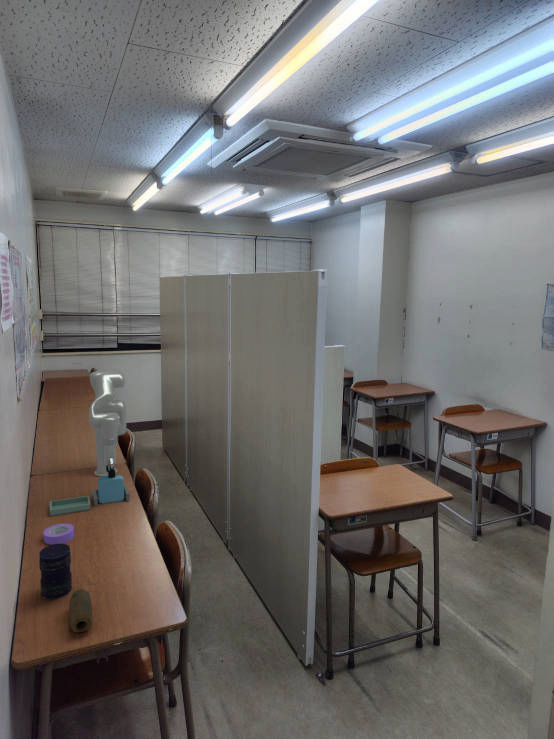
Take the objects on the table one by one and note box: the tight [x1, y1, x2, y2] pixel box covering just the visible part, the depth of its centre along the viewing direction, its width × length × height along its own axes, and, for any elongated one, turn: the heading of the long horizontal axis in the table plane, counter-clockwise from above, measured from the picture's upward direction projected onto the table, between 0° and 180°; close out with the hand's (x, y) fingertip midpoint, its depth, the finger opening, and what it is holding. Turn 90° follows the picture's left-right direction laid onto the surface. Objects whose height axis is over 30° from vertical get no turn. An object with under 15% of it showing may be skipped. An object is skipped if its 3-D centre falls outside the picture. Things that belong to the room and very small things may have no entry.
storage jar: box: [38, 543, 73, 600], centre depth 162 cm, size 10×10×15 cm
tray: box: [49, 495, 92, 517], centre depth 226 cm, size 11×18×3 cm, turn 115°
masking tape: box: [43, 523, 75, 546], centre depth 199 cm, size 12×12×4 cm
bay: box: [92, 484, 131, 507], centre depth 237 cm, size 12×16×4 cm
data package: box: [97, 475, 125, 504], centre depth 235 cm, size 12×4×12 cm, turn 110°
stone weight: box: [68, 588, 93, 633], centre depth 149 cm, size 15×7×7 cm, turn 28°
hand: (110, 474), depth 233 cm, fingers open, 9 cm apart
